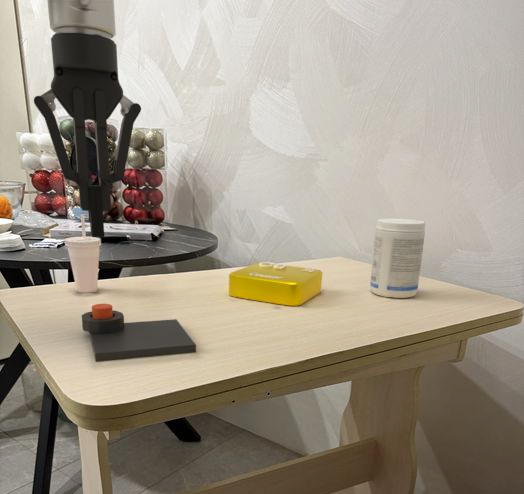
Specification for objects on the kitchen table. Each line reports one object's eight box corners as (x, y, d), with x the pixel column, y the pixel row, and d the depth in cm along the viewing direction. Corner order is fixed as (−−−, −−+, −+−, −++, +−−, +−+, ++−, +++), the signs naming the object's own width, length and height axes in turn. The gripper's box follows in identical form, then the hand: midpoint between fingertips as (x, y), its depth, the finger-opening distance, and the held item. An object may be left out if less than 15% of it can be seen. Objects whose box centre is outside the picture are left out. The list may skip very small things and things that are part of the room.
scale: (88, 363, 65) (87, 340, 64) (82, 330, 77) (80, 311, 76) (196, 352, 70) (196, 331, 69) (174, 323, 82) (174, 305, 81)
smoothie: (109, 287, 102) (105, 214, 97) (96, 295, 96) (91, 217, 91) (78, 285, 103) (71, 212, 98) (63, 293, 97) (55, 215, 92)
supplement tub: (423, 293, 108) (434, 221, 103) (406, 302, 101) (417, 224, 96) (380, 285, 113) (388, 216, 108) (360, 293, 106) (368, 219, 101)
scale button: (93, 321, 73) (92, 309, 72) (91, 315, 75) (91, 304, 75) (114, 320, 74) (113, 308, 73) (111, 314, 76) (111, 302, 76)
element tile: (224, 296, 99) (225, 271, 98) (257, 281, 112) (258, 259, 111) (298, 307, 94) (299, 281, 92) (323, 291, 107) (325, 267, 105)
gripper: (23, 23, 57) (45, 240, 65) (144, 37, 61) (151, 239, 70) (25, 35, 63) (45, 232, 72) (134, 48, 68) (141, 231, 76)
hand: (97, 235), depth 71 cm, fingers closed
